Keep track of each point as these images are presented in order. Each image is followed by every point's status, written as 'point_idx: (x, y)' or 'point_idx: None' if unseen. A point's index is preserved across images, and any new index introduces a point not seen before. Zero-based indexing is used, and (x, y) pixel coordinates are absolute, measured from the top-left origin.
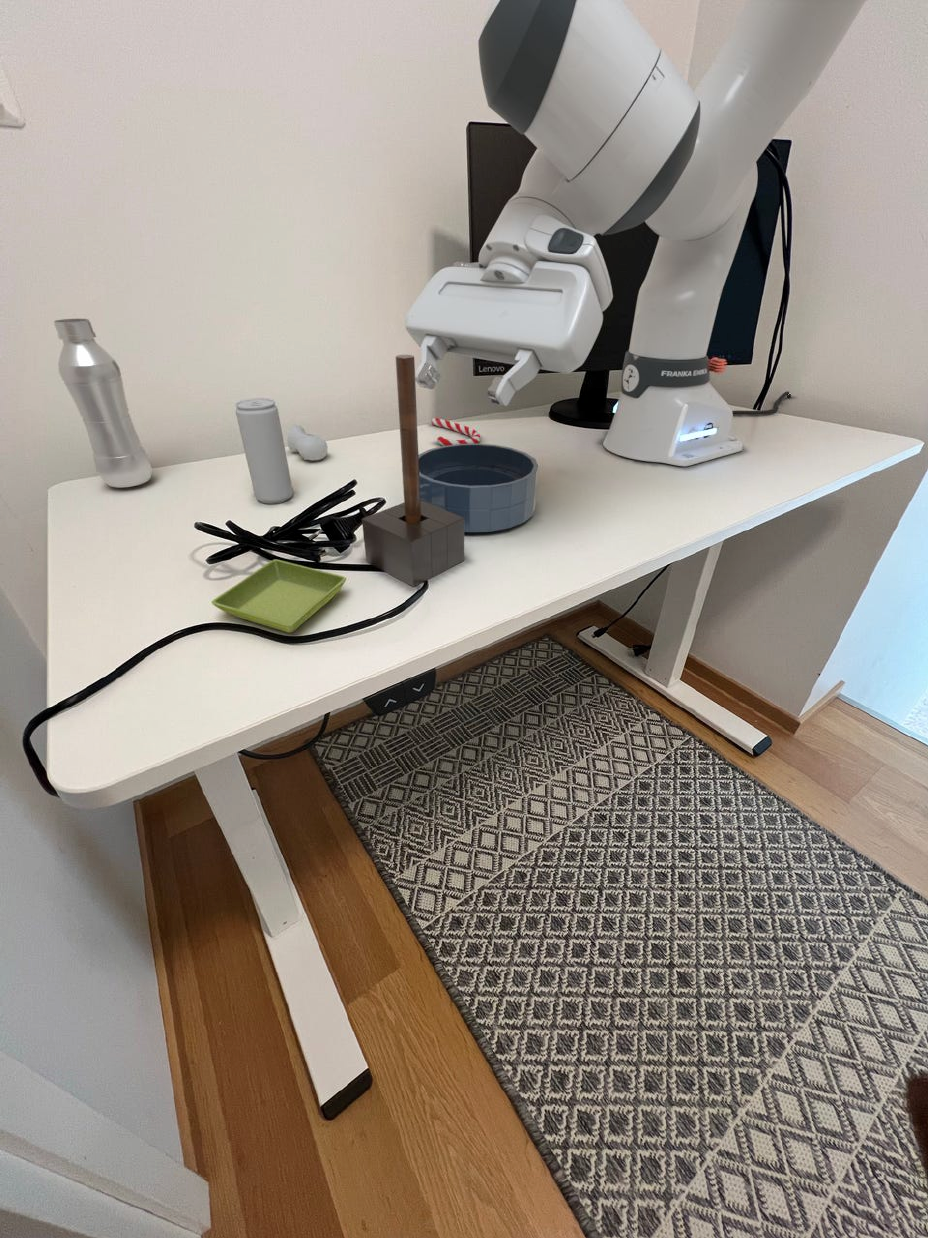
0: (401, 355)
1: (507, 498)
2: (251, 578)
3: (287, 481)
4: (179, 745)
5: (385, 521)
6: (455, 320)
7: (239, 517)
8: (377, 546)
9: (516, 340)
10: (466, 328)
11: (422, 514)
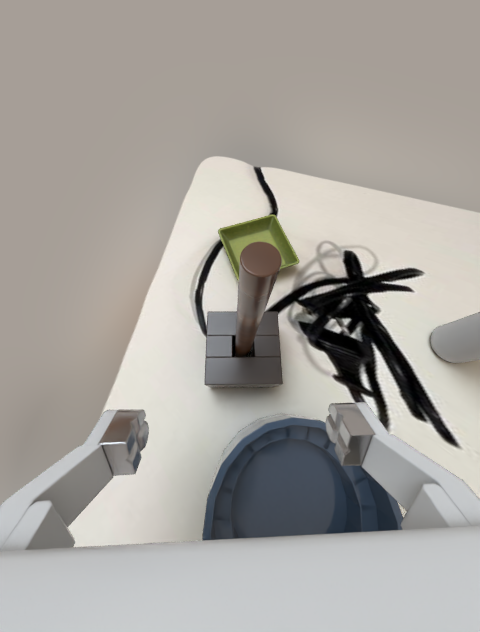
0: (273, 259)
1: (211, 484)
2: (286, 242)
3: (450, 349)
4: (196, 181)
5: None
6: (419, 616)
7: (415, 300)
8: None
9: (7, 558)
10: (304, 567)
11: (242, 358)
